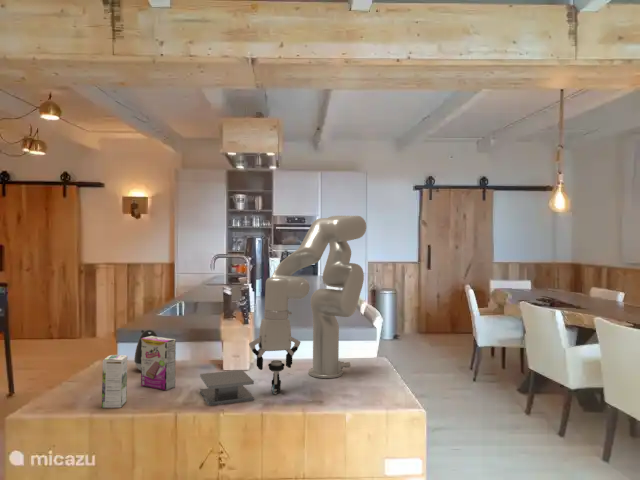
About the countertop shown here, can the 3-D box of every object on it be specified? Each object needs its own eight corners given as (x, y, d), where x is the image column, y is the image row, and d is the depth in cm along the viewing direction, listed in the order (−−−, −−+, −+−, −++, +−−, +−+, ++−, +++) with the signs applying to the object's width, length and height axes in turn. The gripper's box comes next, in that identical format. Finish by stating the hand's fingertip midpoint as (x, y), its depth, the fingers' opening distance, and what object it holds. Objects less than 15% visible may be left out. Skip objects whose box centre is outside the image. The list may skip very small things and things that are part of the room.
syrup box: (107, 401, 160) (107, 354, 159) (127, 401, 160) (127, 354, 160) (101, 408, 154) (101, 359, 154) (122, 408, 154) (122, 359, 154)
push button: (282, 395, 167) (283, 364, 167) (266, 395, 168) (266, 364, 167) (285, 389, 174) (285, 359, 174) (269, 389, 174) (269, 359, 174)
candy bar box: (139, 386, 175) (140, 338, 175) (150, 382, 180) (150, 335, 180) (165, 391, 171) (166, 341, 170) (176, 387, 175) (176, 338, 175)
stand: (242, 387, 176) (242, 369, 175) (253, 400, 163) (253, 381, 163) (200, 392, 170) (200, 373, 170) (208, 405, 157) (208, 385, 157)
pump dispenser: (154, 365, 203) (154, 326, 203) (167, 370, 196) (168, 329, 196) (129, 369, 196) (129, 329, 196) (142, 375, 189) (142, 333, 188)
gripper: (296, 313, 177) (295, 363, 177) (247, 314, 170) (245, 367, 170) (304, 316, 170) (303, 368, 170) (253, 317, 163) (251, 372, 163)
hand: (274, 367), depth 170 cm, fingers open, 9 cm apart
